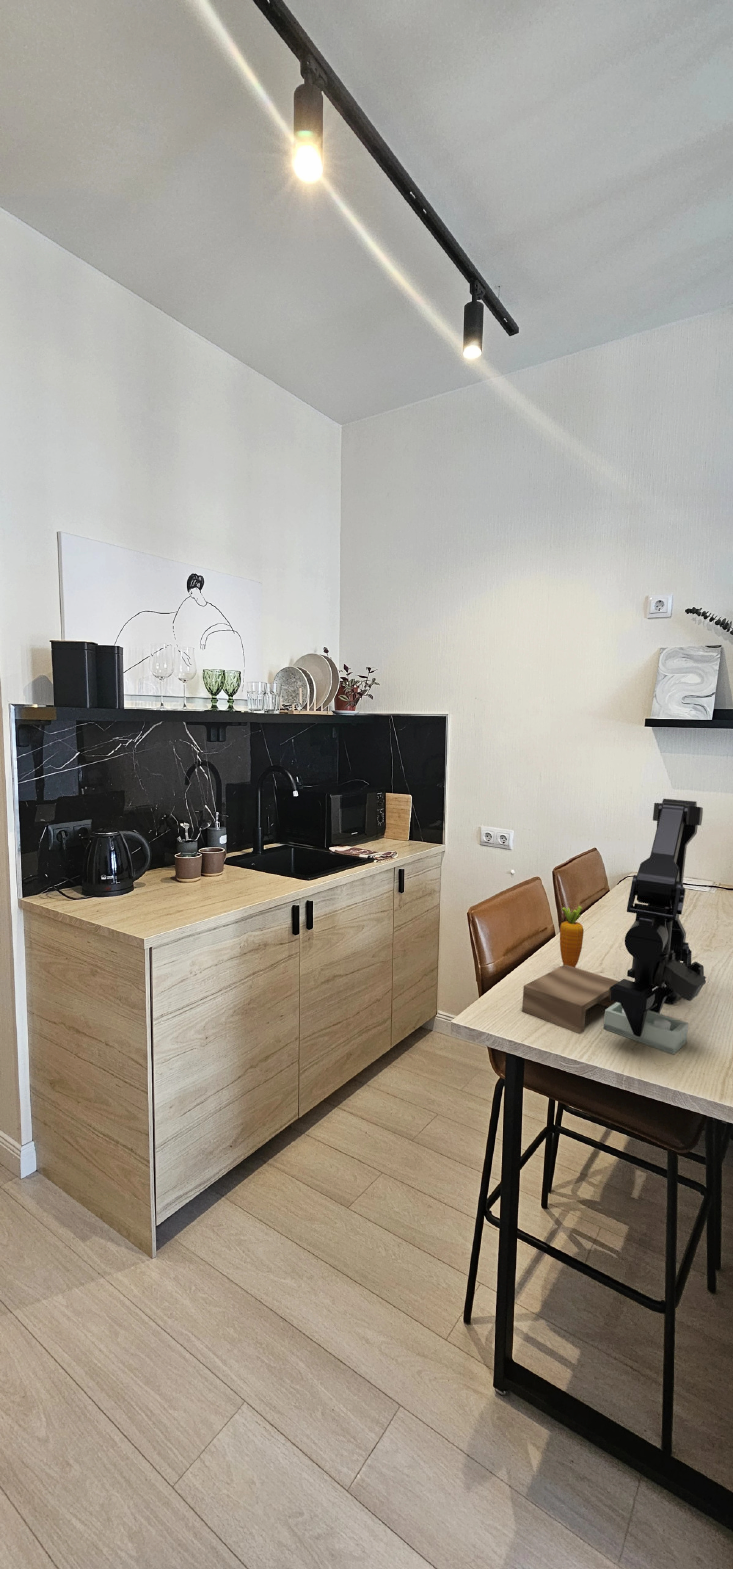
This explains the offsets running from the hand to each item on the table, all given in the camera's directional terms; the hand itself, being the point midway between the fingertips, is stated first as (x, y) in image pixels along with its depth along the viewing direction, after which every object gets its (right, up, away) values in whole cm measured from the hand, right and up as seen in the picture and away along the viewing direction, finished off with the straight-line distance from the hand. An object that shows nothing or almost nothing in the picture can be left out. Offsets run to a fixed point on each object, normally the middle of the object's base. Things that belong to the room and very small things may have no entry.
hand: (644, 1029), depth 115 cm
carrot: (-5, +2, +27) cm, 28 cm away
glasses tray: (0, -1, 0) cm, 1 cm away
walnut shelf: (-10, 0, +10) cm, 14 cm away
